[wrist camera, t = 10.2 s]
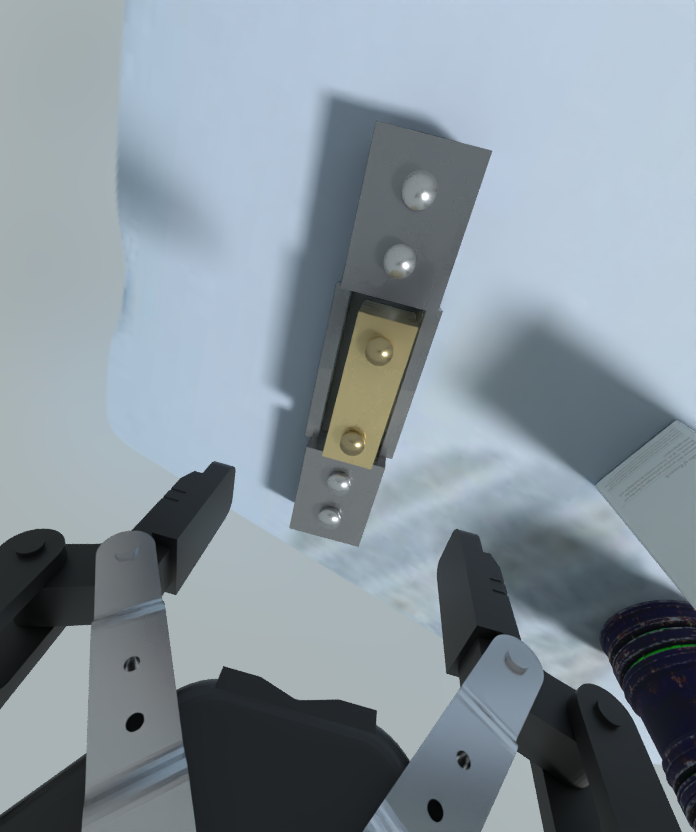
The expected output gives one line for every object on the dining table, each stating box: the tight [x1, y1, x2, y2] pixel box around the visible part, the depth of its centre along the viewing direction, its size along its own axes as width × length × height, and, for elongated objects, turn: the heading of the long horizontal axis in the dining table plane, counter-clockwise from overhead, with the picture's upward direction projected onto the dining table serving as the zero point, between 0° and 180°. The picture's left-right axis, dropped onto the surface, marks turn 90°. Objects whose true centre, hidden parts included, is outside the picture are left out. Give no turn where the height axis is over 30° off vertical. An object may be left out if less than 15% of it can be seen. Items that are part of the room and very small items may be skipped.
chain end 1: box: [319, 121, 492, 392], centre depth 22 cm, size 14×7×4 cm, turn 167°
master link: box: [322, 299, 418, 469], centre depth 25 cm, size 10×4×6 cm, turn 166°
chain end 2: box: [289, 365, 415, 547], centre depth 29 cm, size 14×7×4 cm, turn 167°
